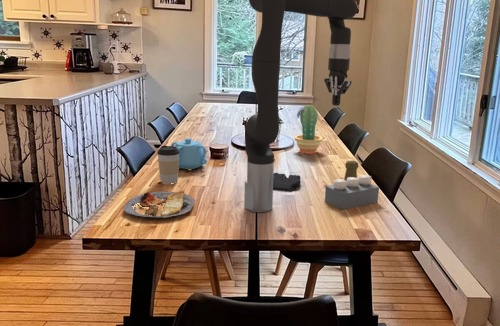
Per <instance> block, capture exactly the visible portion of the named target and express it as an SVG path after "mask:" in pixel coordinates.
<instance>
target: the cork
mask: <svg viewBox="0 0 500 326" xmlns="http://www.w3.org/2000/svg"><path fill="white" fill-rule="evenodd" d="M344 166H345V174H344V179H343V180H346V181H347V178H348V177H355V178H358V173H357V170H358V169H359V162H357V161H356V160H347V161H346V162H345V165H344Z"/></svg>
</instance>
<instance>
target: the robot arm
mask: <svg viewBox="0 0 500 326" xmlns="http://www.w3.org/2000/svg"><path fill="white" fill-rule="evenodd" d="M248 3H249V5H250V7H251V8H252V9H253V10H254V11H256V12H258V13H261V27H260V28H261V29H260V32H259V35H258V38H257V40H256V42H255V44H254V49H253V51H252V55H251V79H252V84H253V88H254V91H255V95H256V96H255V97H256V99H257V100H256V101H257V111H256V114H253V115H251V116H250V117H249V118H248V119H247V121H246V124H245V126H244V127H245V130H244V138H245V140H244V142H245V143H244V144H245V146H244V148H245V154H246V156H247V157H246V158H247V160H246V161H247V165H246V167H247V168H246V171H247V172H246V174H247V175H246V181H244V201H243V203H244V205H243V207H244V208H245V209H246V210H248V211H250V212H251V213H266V212H271V210H273V202H274V201H273V199H274V190H273V176H274V173H275V172H274V169H275V153H274V152H273V150H272V148H271V144H273V143H274V142H275V141H276V140H277V138H278V135H279V131H280V120H279V118H280V116H279V94H280V93H279V90H280V89H279V88H280V87H279V86H280V73H281V48H282V34H283V33H282V32H283V30H282V29H283V23H284V18H285V12H287V13H295V14H302V15H306V16H307V15H308V16H314V17H320V18H328V23H329V29H330V40H329V41H330V42H329V50H328V63H327V64H328V65H327V70H328V71H329V74H328V77H326V78H324V83H325V86H326V88H327V91H328V93H330V94H331V95H332V97H331V98H332V100H331V101H332V102H331V104H332V106H334V107H335V106H336V107H337V106H340V104H341V96H342V95H344V94H346V92H347V91H348V90H349V88H350V87H351V85H352V82H353V81H352V80H350V79H348V71H350V61H351V60H350V59H351V40H352V37H351V36H352V31H351V28H350V27H349V26H346V25H345V20H351V19H352V18H354V17H355V16H356V15H357V13H358V4H357V2H356V1H355V0H248Z"/></svg>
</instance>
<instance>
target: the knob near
mask: <svg viewBox="0 0 500 326" xmlns="http://www.w3.org/2000/svg"><path fill="white" fill-rule="evenodd" d="M346 184H347V181H346V180H344V179H342V178H341V179H340V178H339V179H338V178H337V179H334V181H333V185H334V188H335V189H337V190H339V191H342V190H343V189H346Z"/></svg>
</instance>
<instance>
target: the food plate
mask: <svg viewBox="0 0 500 326" xmlns="http://www.w3.org/2000/svg"><path fill="white" fill-rule="evenodd" d="M162 199H163V200H162ZM195 202H196V200H195V198H194V197H192V196H190V195H188V194H187V193H185V192H184V191H183V190H181V191H179V192H177V191H176V192H175V191H167V190H166V191H163V190H162V191H153V192H152V191H150V192H149V191H147V192H145V193H141V194H140V195H136V196H134V197H131V198H130V199H129V200H128V201H127V202H126V204H125V205H124V206H123V212H125V213H126V214H129V215H134V216H136V217H137V216H139V217H143V218H147V217H148V218H154V219H156V218H164V219H165V218H171V217H172V216H174V217H176V216H180V215H183V214H186V213H187V212H190V211H192V209H193V206H194V204H195ZM137 203H140V205H141V206H142V207H149V209H148V210H147V211H144V214H143V213H142V214H141V213H140V212H139V213H140V214H139V213H137V212H138V211H137V212H136V211H135V207H134V209H133V207H132V206H134V205H135V204H137ZM161 203H165V205H164V207H163V211H162V213H161V212H160V215H157V214H156V213H158V212H157V211H158V208H159V207H158V206H156V205H160V204H161ZM137 205H138V204H137ZM161 205H162V204H161ZM135 206H136V205H135ZM145 214H148V215H145ZM155 214H156V215H155ZM149 215H150V216H149ZM151 215H155V216H151ZM172 218H173V217H172Z"/></svg>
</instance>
